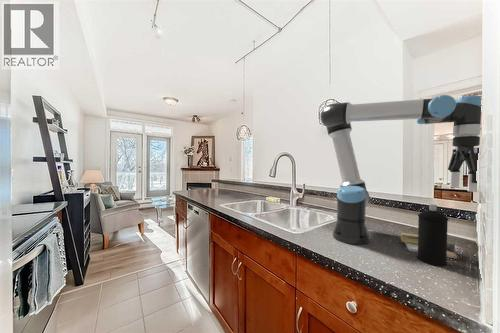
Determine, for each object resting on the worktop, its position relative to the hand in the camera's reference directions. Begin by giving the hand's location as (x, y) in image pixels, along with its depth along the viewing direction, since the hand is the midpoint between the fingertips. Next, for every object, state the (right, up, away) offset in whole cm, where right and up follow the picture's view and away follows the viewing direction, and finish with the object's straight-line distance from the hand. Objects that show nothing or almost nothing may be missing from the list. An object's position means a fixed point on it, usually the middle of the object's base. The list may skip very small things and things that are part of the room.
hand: (462, 189), depth 84 cm
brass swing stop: (-16, -23, +3) cm, 28 cm away
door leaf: (-10, -24, 0) cm, 26 cm away
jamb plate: (-17, -24, +3) cm, 29 cm away
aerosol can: (-21, -25, -10) cm, 34 cm away
